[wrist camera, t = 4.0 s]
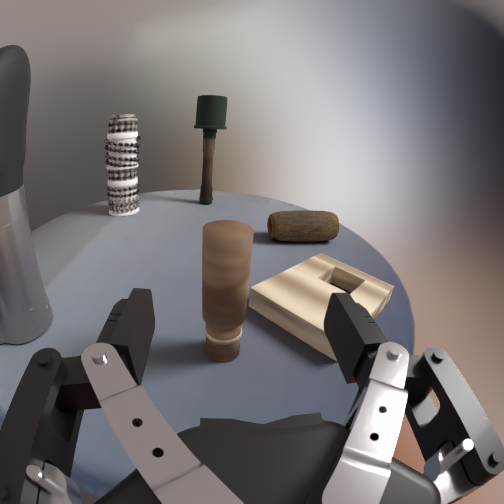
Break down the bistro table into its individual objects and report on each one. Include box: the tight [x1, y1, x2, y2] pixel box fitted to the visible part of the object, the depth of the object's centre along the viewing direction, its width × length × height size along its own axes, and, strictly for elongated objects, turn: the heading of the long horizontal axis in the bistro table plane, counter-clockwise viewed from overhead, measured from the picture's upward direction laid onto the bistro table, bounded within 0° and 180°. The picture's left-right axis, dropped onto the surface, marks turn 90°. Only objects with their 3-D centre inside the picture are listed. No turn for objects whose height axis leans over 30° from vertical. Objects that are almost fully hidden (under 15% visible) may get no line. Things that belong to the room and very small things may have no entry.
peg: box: [202, 220, 254, 362], centre depth 26 cm, size 4×4×14 cm
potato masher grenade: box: [194, 95, 227, 204], centre depth 71 cm, size 8×9×30 cm
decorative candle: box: [105, 114, 141, 216], centre depth 62 cm, size 9×9×25 cm
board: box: [249, 253, 394, 361], centre depth 38 cm, size 17×14×3 cm
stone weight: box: [267, 211, 339, 242], centre depth 58 cm, size 15×7×7 cm, turn 105°
